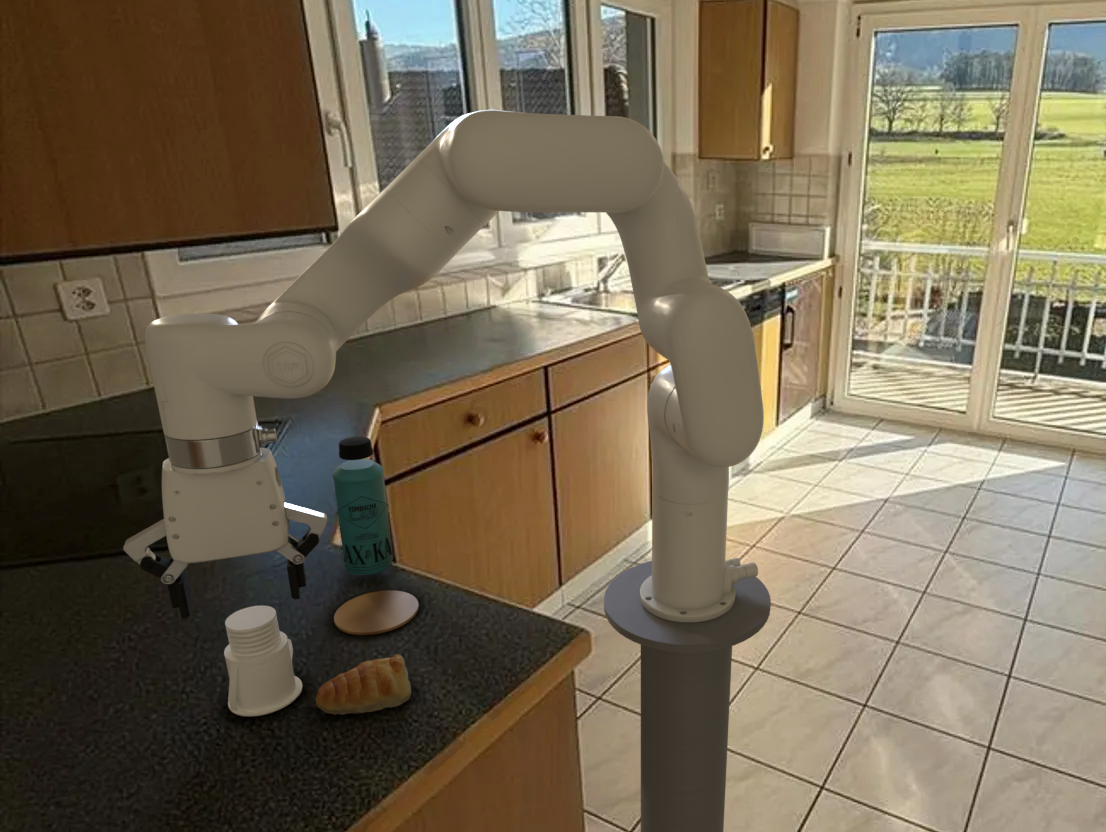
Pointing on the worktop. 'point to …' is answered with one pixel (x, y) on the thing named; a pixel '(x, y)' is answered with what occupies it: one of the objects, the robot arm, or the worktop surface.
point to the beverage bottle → (362, 509)
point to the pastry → (366, 687)
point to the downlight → (259, 663)
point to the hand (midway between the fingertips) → (243, 602)
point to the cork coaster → (376, 612)
